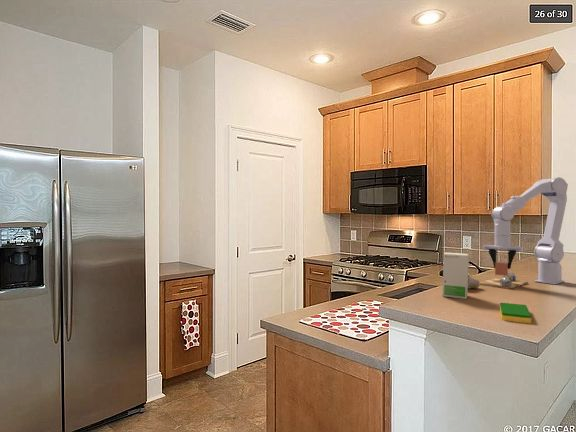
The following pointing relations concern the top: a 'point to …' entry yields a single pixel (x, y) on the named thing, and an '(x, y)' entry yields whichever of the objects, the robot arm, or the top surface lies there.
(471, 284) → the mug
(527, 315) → the dish sponge
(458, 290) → the skincare box
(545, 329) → the top surface
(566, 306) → the top surface
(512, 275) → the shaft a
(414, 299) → the top surface
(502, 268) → the reddish brown block
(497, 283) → the base board
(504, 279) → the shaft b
